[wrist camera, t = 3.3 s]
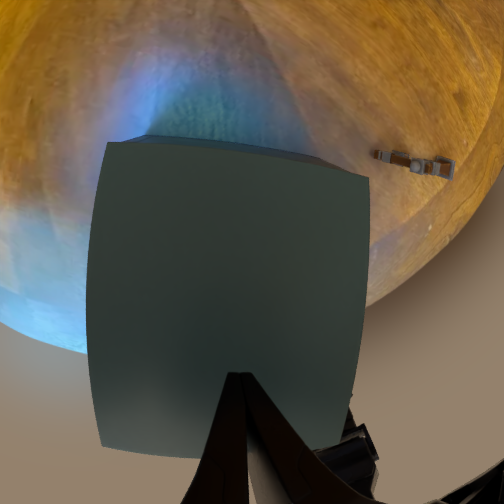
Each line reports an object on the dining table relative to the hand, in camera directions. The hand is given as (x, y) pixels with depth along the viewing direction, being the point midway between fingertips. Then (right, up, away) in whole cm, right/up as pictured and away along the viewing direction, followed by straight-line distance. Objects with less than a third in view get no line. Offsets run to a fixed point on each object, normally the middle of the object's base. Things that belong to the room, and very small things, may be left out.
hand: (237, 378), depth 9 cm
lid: (0, +2, +2) cm, 3 cm away
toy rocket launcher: (+13, +12, +10) cm, 20 cm away
